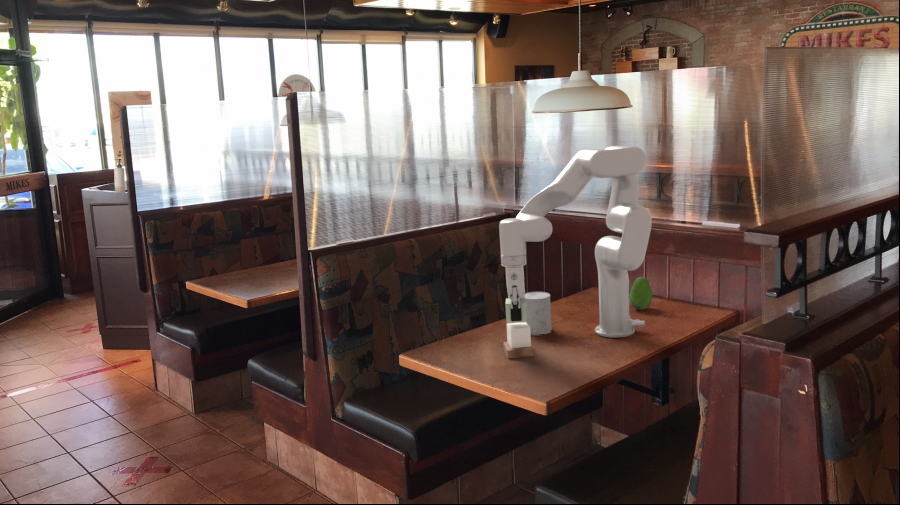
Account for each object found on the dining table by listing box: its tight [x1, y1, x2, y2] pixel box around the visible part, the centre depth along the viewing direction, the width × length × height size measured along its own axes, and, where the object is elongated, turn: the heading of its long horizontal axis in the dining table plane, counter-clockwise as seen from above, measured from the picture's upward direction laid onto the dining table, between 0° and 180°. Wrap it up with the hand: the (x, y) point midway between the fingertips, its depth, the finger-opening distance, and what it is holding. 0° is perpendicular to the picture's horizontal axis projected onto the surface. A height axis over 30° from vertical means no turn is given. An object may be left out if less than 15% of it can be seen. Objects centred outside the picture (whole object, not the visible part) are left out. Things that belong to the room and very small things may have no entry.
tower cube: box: [506, 322, 532, 348], centre depth 223 cm, size 6×6×6 cm
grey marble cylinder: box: [525, 291, 552, 336], centre depth 242 cm, size 10×10×12 cm
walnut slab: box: [503, 341, 535, 359], centre depth 223 cm, size 8×8×3 cm
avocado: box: [629, 276, 654, 311], centre depth 258 cm, size 8×8×12 cm
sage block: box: [505, 297, 527, 324], centre depth 221 cm, size 6×6×6 cm
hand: (516, 317), depth 221 cm, fingers closed on sage block, 6 cm apart
